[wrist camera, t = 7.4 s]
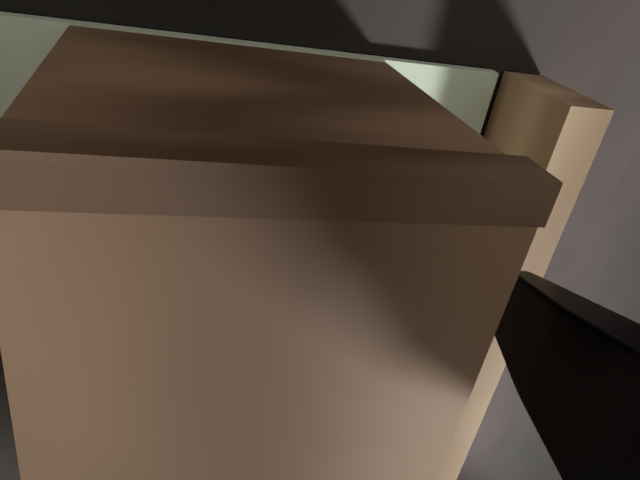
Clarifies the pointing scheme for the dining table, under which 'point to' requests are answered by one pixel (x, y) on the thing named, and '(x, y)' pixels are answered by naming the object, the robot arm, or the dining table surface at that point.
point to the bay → (571, 168)
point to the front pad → (433, 78)
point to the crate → (246, 263)
